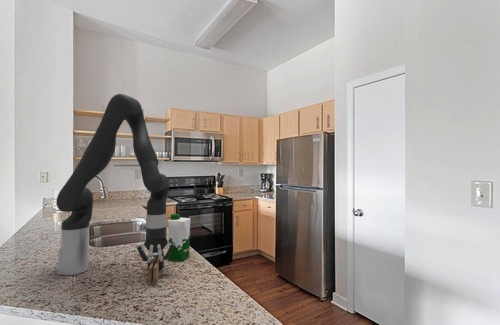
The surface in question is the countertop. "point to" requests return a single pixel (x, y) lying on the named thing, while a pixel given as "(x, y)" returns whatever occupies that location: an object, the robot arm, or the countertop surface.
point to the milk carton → (179, 237)
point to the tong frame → (150, 270)
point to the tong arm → (156, 270)
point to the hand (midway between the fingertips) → (155, 270)
